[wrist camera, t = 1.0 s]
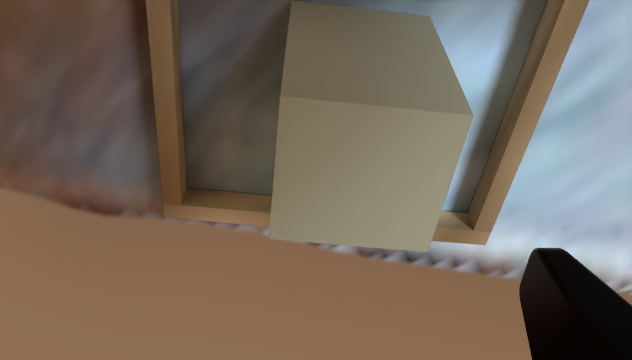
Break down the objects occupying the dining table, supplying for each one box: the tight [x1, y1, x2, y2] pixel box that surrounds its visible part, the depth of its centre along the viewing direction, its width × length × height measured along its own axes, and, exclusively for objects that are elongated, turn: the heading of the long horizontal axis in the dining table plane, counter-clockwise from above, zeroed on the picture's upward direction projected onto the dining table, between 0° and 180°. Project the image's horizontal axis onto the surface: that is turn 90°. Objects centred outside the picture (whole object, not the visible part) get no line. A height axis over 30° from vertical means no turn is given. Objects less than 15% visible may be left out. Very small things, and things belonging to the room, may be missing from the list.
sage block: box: [269, 0, 474, 252], centre depth 18 cm, size 5×5×7 cm
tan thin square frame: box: [146, 0, 589, 245], centre depth 20 cm, size 15×15×1 cm
